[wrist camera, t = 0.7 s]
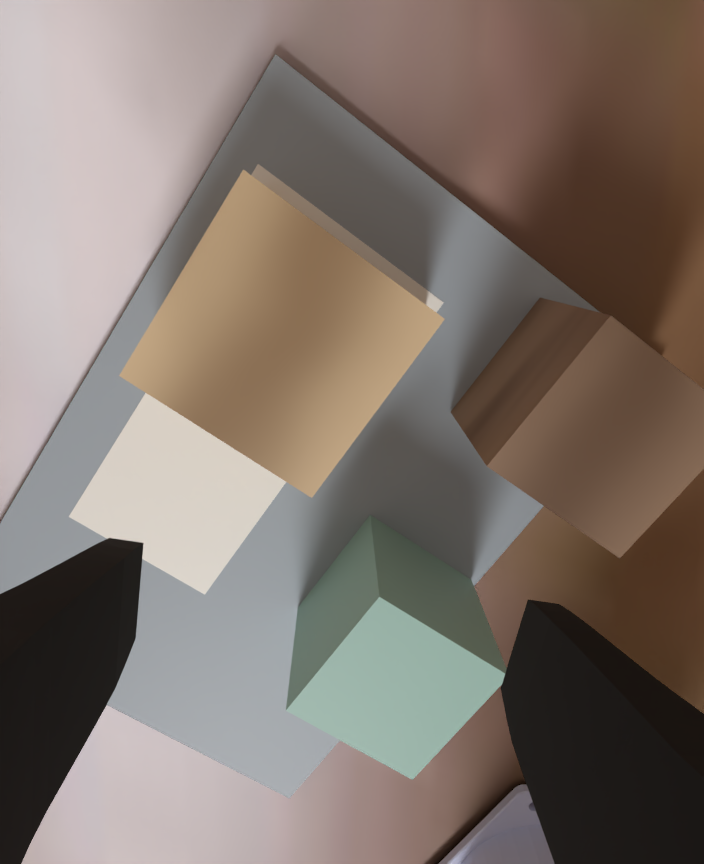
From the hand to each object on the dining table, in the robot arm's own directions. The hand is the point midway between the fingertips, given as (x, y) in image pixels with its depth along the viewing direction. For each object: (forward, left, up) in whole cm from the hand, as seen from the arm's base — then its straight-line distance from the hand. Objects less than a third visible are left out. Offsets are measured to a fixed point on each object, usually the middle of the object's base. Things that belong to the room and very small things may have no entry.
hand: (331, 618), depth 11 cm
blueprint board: (+1, +2, -10) cm, 10 cm away
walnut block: (-4, -6, -9) cm, 12 cm away
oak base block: (+3, -3, -9) cm, 10 cm away
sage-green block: (-4, +3, -9) cm, 11 cm away
